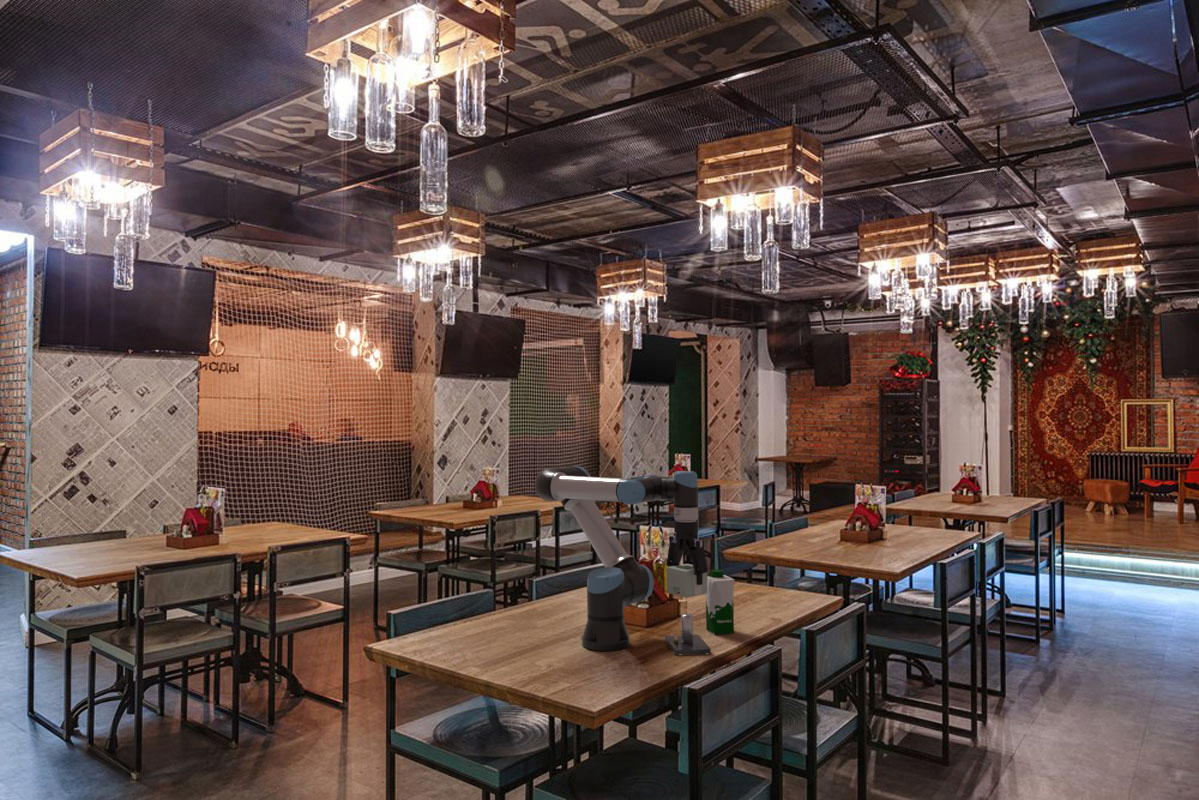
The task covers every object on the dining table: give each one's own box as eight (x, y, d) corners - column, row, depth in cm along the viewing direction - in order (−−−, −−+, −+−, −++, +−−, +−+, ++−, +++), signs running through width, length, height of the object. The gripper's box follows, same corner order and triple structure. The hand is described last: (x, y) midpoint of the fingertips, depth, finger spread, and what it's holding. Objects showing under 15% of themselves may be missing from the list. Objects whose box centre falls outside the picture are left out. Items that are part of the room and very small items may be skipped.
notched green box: (686, 597, 239) (685, 571, 240) (666, 592, 247) (666, 567, 247) (707, 593, 245) (707, 567, 245) (687, 588, 252) (687, 563, 252)
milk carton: (726, 627, 269) (725, 568, 269) (737, 634, 260) (737, 573, 260) (702, 628, 266) (702, 570, 267) (713, 636, 258) (713, 575, 258)
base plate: (675, 655, 237) (675, 622, 237) (664, 640, 253) (664, 609, 253) (710, 653, 238) (710, 620, 238) (698, 639, 254) (697, 608, 254)
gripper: (654, 518, 253) (655, 588, 252) (701, 525, 235) (702, 600, 235) (672, 516, 257) (672, 585, 257) (719, 522, 240) (720, 596, 239)
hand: (686, 592), depth 246 cm, fingers closed on notched green box, 9 cm apart
